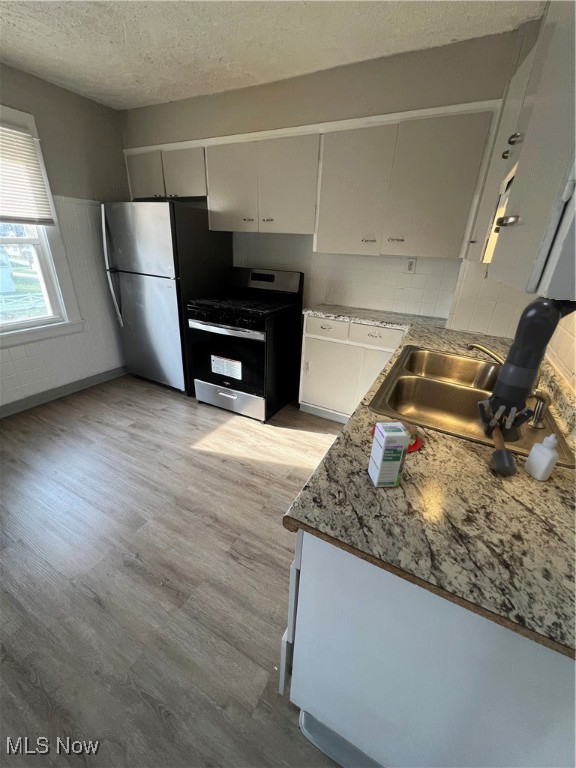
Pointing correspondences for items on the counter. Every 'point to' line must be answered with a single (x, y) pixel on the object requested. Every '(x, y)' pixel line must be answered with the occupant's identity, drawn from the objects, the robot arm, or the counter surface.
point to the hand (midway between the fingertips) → (493, 436)
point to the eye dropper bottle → (542, 458)
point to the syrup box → (388, 454)
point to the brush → (502, 454)
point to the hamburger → (414, 437)
